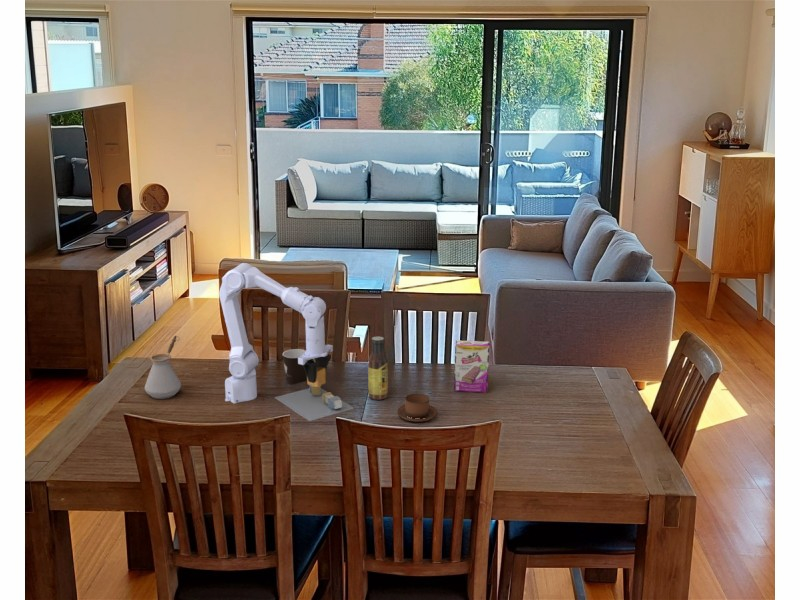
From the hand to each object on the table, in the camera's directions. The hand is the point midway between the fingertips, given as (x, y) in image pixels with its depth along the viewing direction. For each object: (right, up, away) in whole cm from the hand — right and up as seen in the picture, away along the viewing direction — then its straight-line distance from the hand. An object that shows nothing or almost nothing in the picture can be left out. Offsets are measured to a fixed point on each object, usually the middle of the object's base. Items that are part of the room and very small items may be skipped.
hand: (316, 379), depth 272 cm
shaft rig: (+2, -7, +5) cm, 9 cm away
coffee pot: (-50, -5, +18) cm, 54 cm away
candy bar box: (+49, -5, +17) cm, 52 cm away
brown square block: (0, -1, 0) cm, 1 cm away
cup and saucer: (+31, -11, -3) cm, 33 cm away
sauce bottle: (+19, -7, +11) cm, 23 cm away
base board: (-1, -9, +3) cm, 9 cm away
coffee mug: (-9, -3, +25) cm, 27 cm away
